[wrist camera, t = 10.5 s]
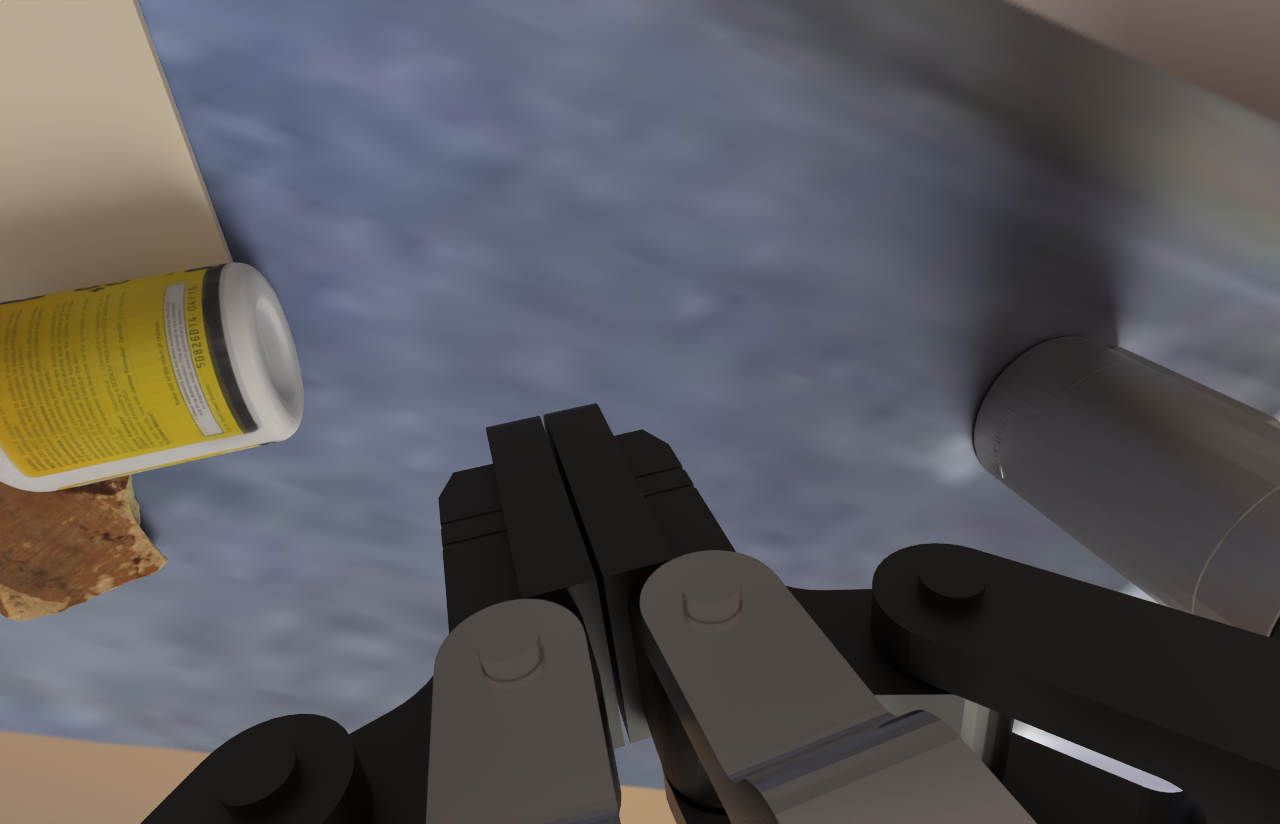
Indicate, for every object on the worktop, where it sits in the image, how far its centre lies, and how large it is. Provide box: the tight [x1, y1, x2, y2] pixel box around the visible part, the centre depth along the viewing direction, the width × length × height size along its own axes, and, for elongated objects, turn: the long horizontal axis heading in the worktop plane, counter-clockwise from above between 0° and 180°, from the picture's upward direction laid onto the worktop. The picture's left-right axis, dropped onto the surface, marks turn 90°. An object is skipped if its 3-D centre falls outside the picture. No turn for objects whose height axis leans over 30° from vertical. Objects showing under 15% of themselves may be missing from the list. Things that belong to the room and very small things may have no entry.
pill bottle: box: [0, 263, 303, 492], centre depth 27 cm, size 6×6×12 cm
